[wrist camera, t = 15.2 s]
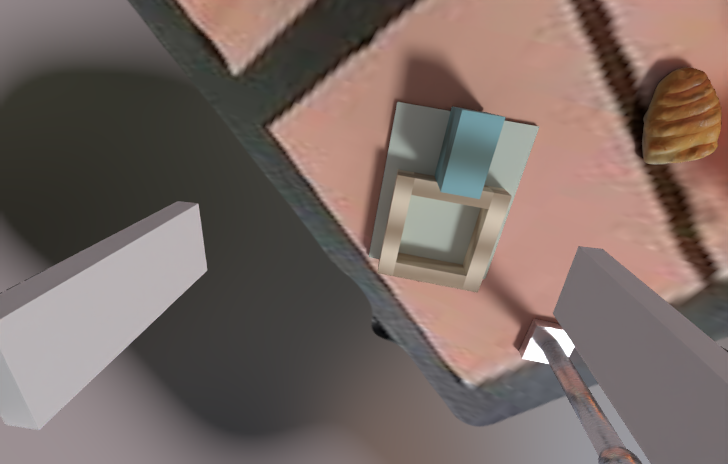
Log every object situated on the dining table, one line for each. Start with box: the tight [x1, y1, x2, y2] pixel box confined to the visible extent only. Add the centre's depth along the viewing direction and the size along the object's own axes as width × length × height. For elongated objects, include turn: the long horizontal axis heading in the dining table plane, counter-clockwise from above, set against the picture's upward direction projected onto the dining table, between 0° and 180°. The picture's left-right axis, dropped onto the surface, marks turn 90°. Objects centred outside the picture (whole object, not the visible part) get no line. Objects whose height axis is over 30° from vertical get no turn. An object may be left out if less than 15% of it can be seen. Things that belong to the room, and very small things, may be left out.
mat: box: [369, 102, 539, 279], centre depth 42 cm, size 20×16×1 cm
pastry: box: [642, 67, 722, 164], centre depth 34 cm, size 9×7×4 cm
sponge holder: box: [378, 106, 512, 292], centre depth 38 cm, size 21×13×7 cm, turn 171°
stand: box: [519, 319, 642, 464], centre depth 39 cm, size 6×6×20 cm
